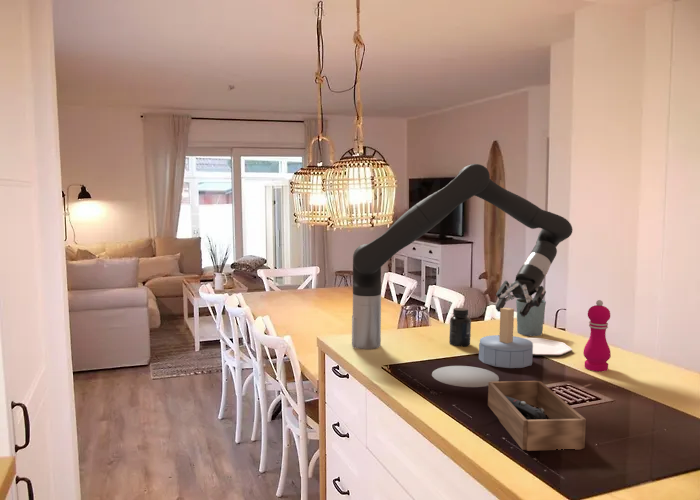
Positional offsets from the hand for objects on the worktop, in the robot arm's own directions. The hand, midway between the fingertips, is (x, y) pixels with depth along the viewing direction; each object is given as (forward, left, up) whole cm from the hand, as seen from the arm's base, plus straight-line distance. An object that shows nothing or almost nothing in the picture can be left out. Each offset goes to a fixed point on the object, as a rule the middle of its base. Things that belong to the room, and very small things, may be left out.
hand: (509, 312), depth 172 cm
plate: (+14, +13, -15) cm, 24 cm away
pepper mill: (+23, -8, -15) cm, 29 cm away
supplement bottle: (-10, +19, -15) cm, 26 cm away
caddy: (-11, -47, -15) cm, 51 cm away
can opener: (-14, -45, -15) cm, 49 cm away
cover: (-1, 0, -15) cm, 15 cm away
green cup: (+19, +33, -15) cm, 41 cm away
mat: (-17, -14, -15) cm, 27 cm away
